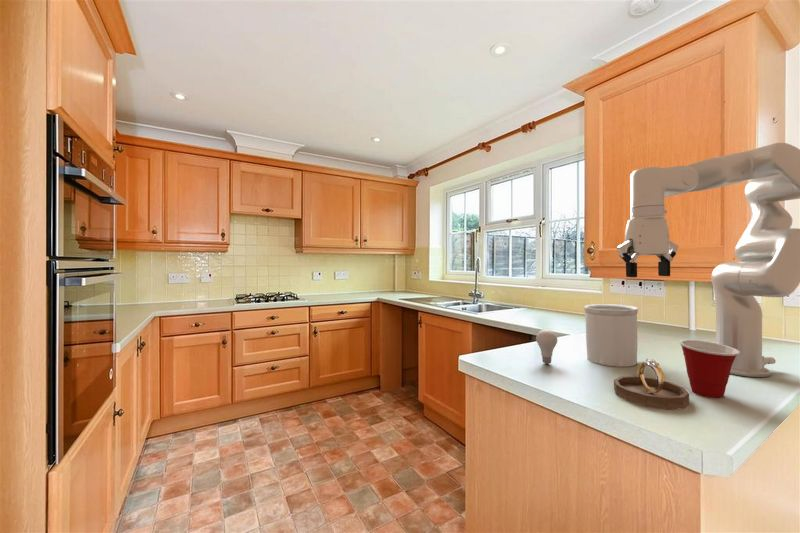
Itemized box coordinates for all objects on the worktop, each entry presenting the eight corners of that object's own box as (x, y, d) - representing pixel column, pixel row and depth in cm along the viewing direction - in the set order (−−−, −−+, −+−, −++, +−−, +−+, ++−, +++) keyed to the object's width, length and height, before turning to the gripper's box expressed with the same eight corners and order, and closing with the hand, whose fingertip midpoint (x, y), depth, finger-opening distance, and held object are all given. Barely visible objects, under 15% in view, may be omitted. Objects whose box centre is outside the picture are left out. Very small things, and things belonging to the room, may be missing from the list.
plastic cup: (729, 407, 75) (729, 353, 75) (671, 391, 84) (671, 343, 84) (747, 397, 80) (747, 346, 80) (690, 383, 90) (690, 337, 90)
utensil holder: (579, 361, 110) (579, 307, 109) (589, 352, 121) (589, 302, 121) (634, 371, 100) (634, 311, 100) (640, 359, 111) (640, 305, 111)
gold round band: (667, 398, 78) (667, 364, 78) (652, 398, 78) (652, 363, 78) (647, 387, 85) (647, 355, 85) (634, 387, 85) (634, 355, 85)
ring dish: (652, 384, 89) (652, 375, 89) (705, 407, 75) (704, 396, 75) (601, 387, 88) (601, 377, 88) (645, 410, 74) (645, 399, 74)
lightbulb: (558, 363, 108) (558, 328, 108) (555, 368, 103) (555, 332, 103) (538, 360, 112) (538, 326, 111) (534, 365, 106) (534, 330, 106)
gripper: (664, 215, 98) (665, 275, 98) (608, 216, 96) (608, 276, 96) (689, 211, 90) (689, 276, 91) (628, 212, 89) (629, 278, 89)
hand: (648, 276), depth 94 cm, fingers open, 9 cm apart
